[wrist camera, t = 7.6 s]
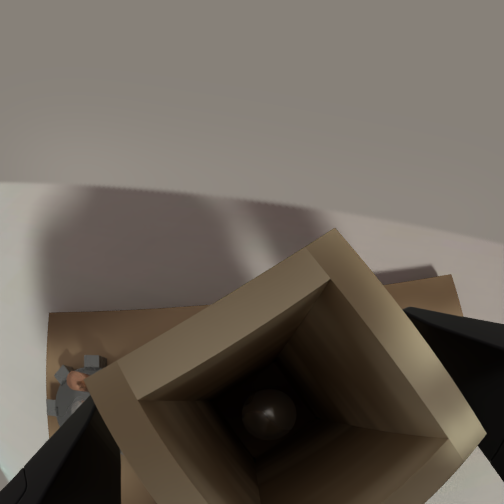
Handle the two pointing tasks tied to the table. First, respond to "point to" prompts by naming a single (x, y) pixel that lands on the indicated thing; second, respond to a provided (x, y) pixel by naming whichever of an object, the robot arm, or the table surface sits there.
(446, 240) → the table surface
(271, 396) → the peg
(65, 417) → the drive gear
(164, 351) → the open-ended square tube
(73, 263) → the table surface
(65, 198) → the table surface
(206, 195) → the table surface
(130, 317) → the gear board
